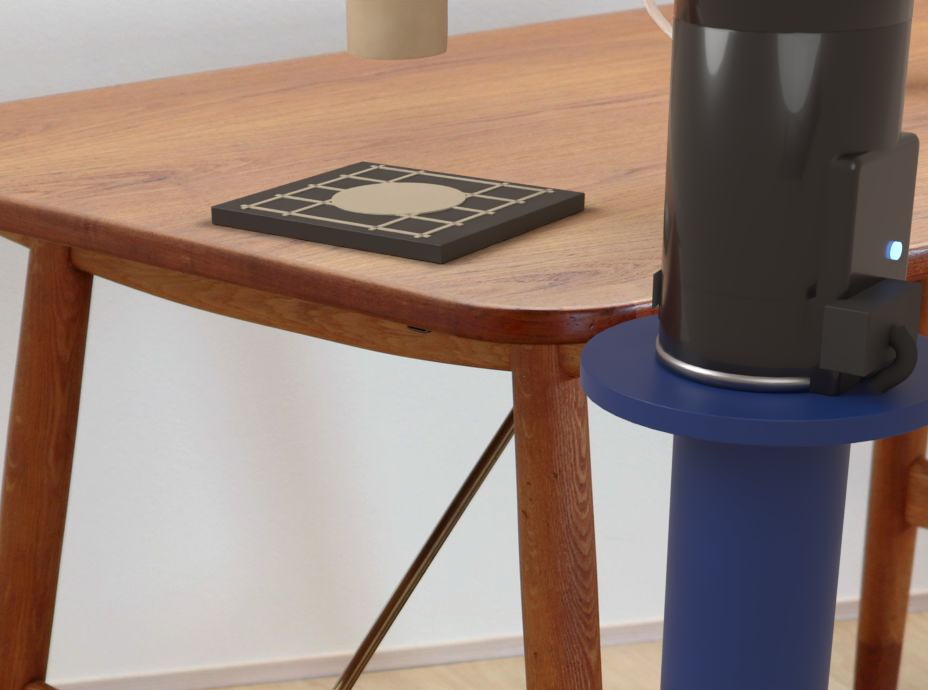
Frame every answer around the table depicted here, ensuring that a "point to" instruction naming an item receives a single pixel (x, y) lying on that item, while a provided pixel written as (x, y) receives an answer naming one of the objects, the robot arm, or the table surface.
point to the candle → (396, 28)
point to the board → (399, 210)
